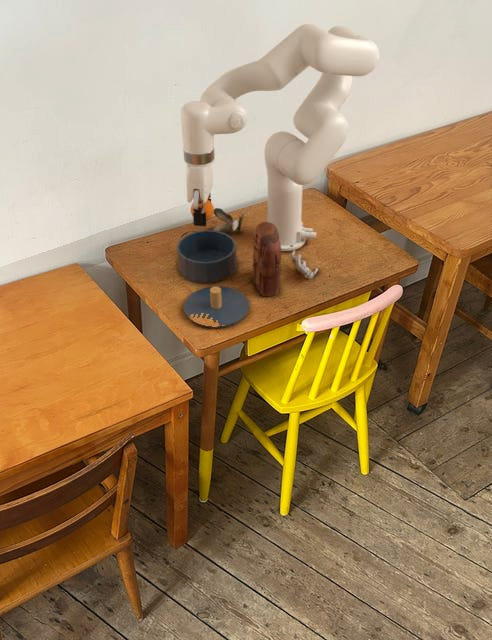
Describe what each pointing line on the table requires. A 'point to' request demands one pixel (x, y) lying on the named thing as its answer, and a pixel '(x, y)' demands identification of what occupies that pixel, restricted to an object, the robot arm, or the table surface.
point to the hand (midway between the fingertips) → (202, 218)
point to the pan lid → (217, 305)
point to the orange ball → (206, 209)
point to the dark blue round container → (207, 256)
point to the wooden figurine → (267, 259)
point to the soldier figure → (303, 266)
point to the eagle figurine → (227, 221)
